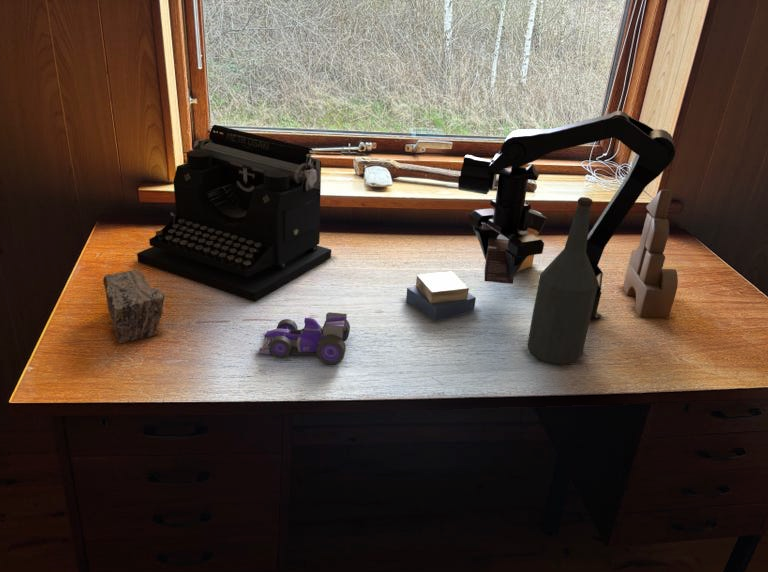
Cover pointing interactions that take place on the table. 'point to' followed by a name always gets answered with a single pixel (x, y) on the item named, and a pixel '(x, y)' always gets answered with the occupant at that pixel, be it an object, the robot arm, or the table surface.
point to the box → (497, 262)
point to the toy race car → (310, 338)
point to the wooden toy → (652, 263)
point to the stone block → (133, 305)
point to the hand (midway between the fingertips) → (499, 270)
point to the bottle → (565, 298)
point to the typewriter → (242, 215)
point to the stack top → (442, 287)
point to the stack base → (439, 305)
